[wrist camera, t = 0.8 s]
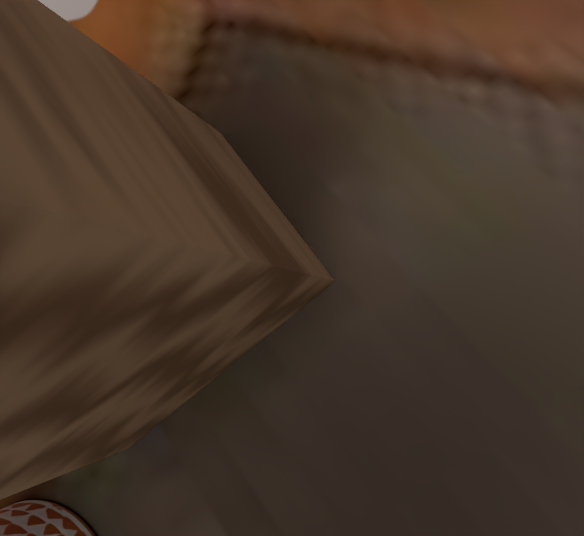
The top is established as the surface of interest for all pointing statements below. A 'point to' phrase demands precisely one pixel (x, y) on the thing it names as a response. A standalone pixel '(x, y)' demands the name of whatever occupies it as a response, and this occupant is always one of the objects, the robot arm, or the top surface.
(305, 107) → the top surface
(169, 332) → the stand
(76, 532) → the planter
